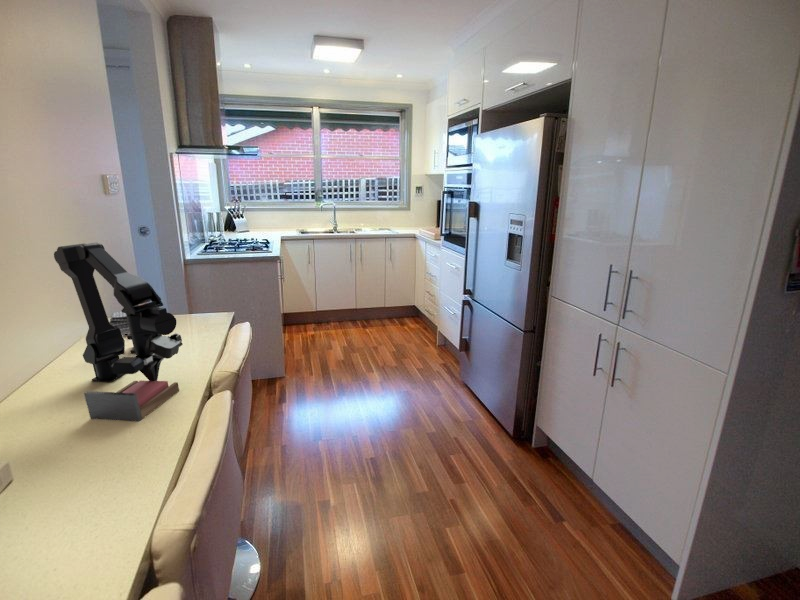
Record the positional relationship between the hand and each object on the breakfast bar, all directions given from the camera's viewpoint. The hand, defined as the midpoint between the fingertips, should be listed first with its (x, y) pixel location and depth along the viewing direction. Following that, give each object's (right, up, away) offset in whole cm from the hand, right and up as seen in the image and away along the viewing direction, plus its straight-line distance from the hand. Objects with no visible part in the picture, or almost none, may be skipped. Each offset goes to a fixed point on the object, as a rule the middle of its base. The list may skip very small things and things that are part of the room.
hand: (154, 382), depth 112 cm
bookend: (-2, -6, -13) cm, 14 cm away
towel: (-38, +11, +52) cm, 65 cm away
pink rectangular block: (0, -5, -6) cm, 8 cm away
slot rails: (-1, -4, -5) cm, 7 cm away
